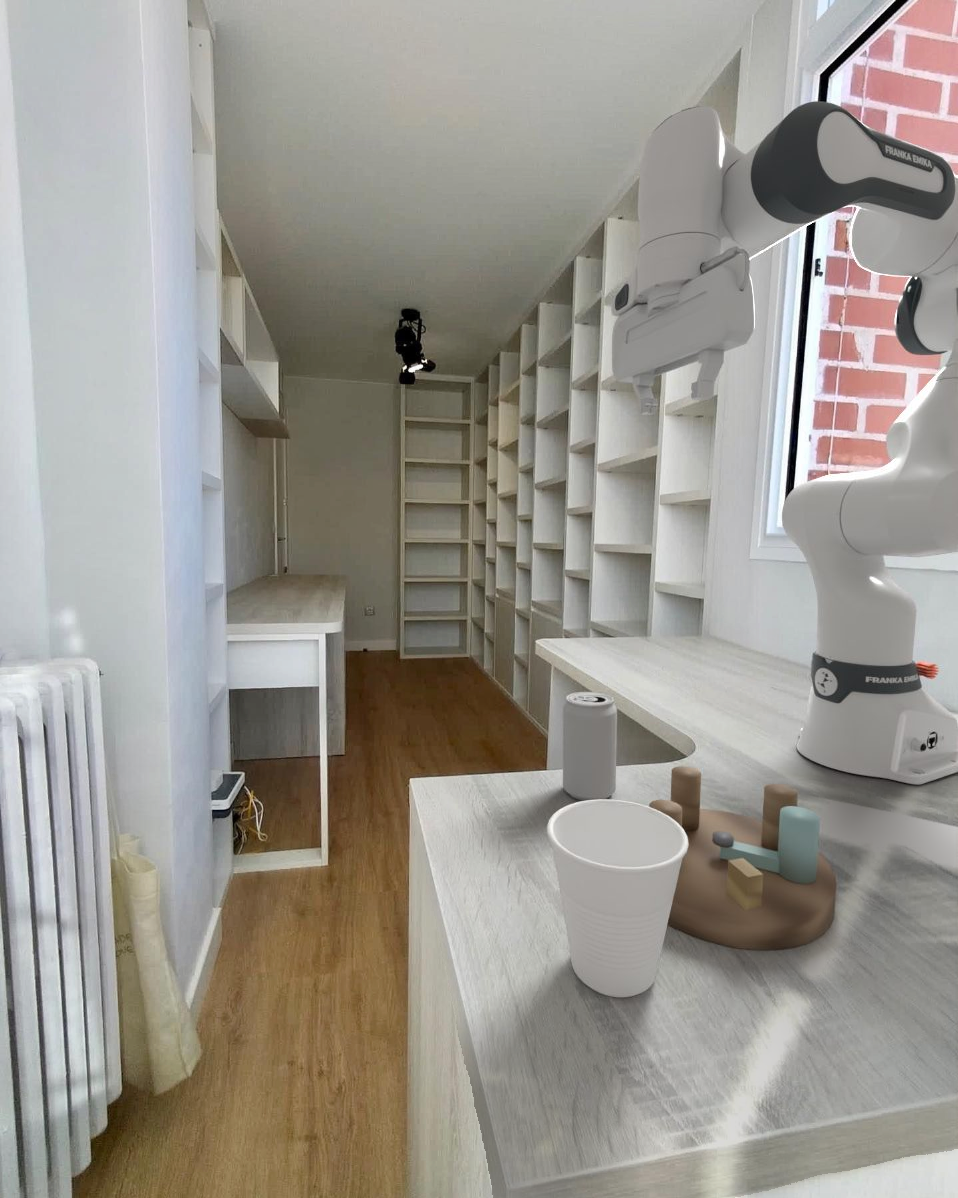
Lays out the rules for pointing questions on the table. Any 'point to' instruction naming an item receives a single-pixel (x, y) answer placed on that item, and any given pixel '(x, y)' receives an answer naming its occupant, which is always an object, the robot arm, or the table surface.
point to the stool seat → (741, 876)
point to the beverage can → (589, 745)
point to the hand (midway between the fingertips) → (673, 407)
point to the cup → (616, 889)
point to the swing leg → (781, 846)
